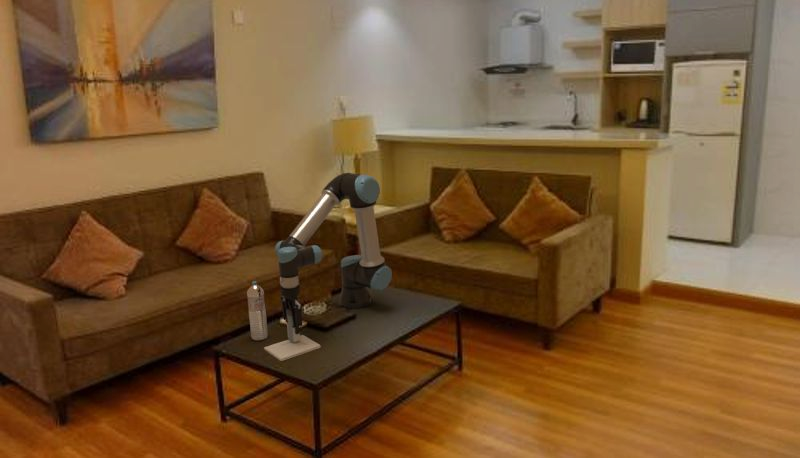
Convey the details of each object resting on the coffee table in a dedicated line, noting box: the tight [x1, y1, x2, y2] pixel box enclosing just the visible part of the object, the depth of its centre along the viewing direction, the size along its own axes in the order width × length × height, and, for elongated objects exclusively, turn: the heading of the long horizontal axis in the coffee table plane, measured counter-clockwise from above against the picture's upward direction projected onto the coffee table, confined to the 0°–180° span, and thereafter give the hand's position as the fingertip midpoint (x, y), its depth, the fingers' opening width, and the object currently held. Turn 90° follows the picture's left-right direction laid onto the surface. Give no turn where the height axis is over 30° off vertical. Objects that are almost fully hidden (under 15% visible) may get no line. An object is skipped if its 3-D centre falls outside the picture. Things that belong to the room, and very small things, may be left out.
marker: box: [286, 308, 298, 343], centre depth 256 cm, size 4×4×14 cm
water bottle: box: [246, 280, 269, 342], centre depth 262 cm, size 7×7×25 cm
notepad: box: [263, 334, 321, 362], centre depth 253 cm, size 18×14×1 cm
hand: (294, 338), depth 258 cm, fingers closed on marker, 4 cm apart
